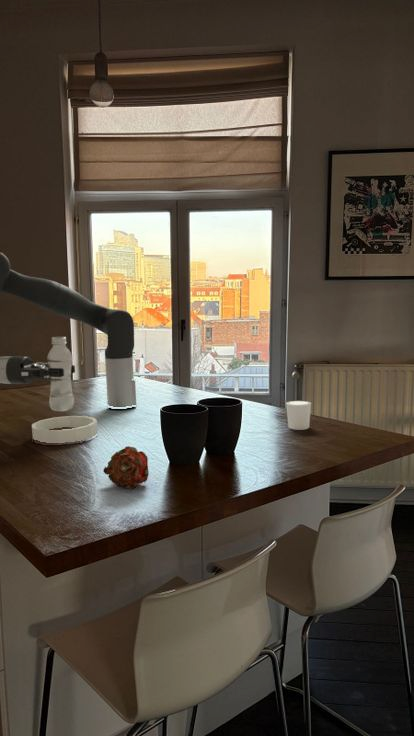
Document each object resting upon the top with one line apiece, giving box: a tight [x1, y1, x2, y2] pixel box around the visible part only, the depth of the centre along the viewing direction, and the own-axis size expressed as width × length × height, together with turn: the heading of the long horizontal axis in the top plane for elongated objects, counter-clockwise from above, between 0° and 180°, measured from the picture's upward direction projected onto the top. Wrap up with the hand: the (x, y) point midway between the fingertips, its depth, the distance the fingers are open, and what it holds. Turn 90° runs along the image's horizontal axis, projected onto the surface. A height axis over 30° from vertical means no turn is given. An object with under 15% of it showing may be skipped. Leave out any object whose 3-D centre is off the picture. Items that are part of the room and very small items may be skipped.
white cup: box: [285, 400, 312, 431], centre depth 155 cm, size 7×7×7 cm
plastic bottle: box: [47, 336, 75, 412], centre depth 150 cm, size 6×7×20 cm
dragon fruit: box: [103, 445, 150, 490], centre depth 112 cm, size 8×8×12 cm
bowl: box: [31, 415, 99, 443], centre depth 152 cm, size 17×17×4 cm
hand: (68, 370), depth 149 cm, fingers closed on plastic bottle, 6 cm apart
